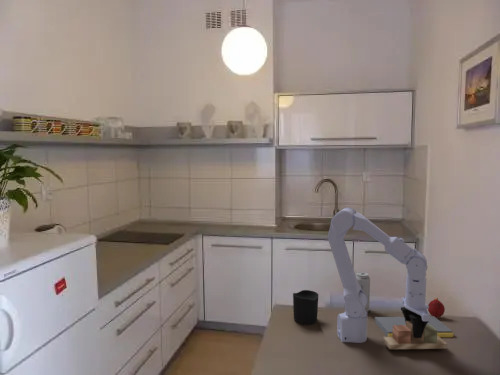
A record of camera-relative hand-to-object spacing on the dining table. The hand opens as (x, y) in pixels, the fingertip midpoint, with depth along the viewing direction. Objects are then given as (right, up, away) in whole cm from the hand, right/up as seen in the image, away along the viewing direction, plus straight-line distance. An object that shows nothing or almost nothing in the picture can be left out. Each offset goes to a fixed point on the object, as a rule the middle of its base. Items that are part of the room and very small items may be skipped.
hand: (414, 334), depth 117 cm
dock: (+6, -5, +15) cm, 16 cm away
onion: (+19, -4, +25) cm, 32 cm away
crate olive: (+4, -2, 0) cm, 5 cm away
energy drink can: (-7, -4, +32) cm, 33 cm away
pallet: (0, -4, 0) cm, 4 cm away
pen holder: (-31, -4, +23) cm, 39 cm away
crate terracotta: (-4, -2, 0) cm, 4 cm away
